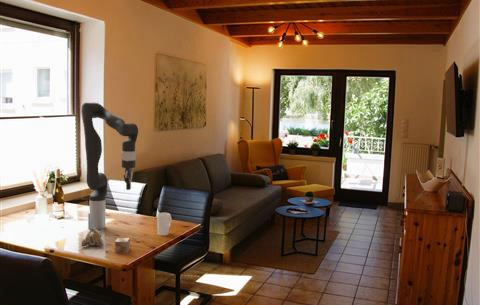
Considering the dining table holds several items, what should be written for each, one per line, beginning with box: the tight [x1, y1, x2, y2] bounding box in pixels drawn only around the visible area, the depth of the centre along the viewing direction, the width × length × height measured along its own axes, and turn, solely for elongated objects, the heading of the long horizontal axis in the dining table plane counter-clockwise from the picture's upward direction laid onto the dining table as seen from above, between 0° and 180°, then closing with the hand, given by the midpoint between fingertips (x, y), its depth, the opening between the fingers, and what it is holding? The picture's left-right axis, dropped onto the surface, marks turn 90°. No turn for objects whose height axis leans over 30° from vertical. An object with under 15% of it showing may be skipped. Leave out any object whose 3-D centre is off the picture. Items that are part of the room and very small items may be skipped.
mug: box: [156, 212, 173, 236], centre depth 265 cm, size 10×7×12 cm, turn 143°
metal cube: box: [114, 237, 131, 254], centre depth 233 cm, size 6×6×6 cm
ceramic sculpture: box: [81, 228, 104, 247], centre depth 241 cm, size 11×9×15 cm
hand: (128, 189), depth 256 cm, fingers closed
